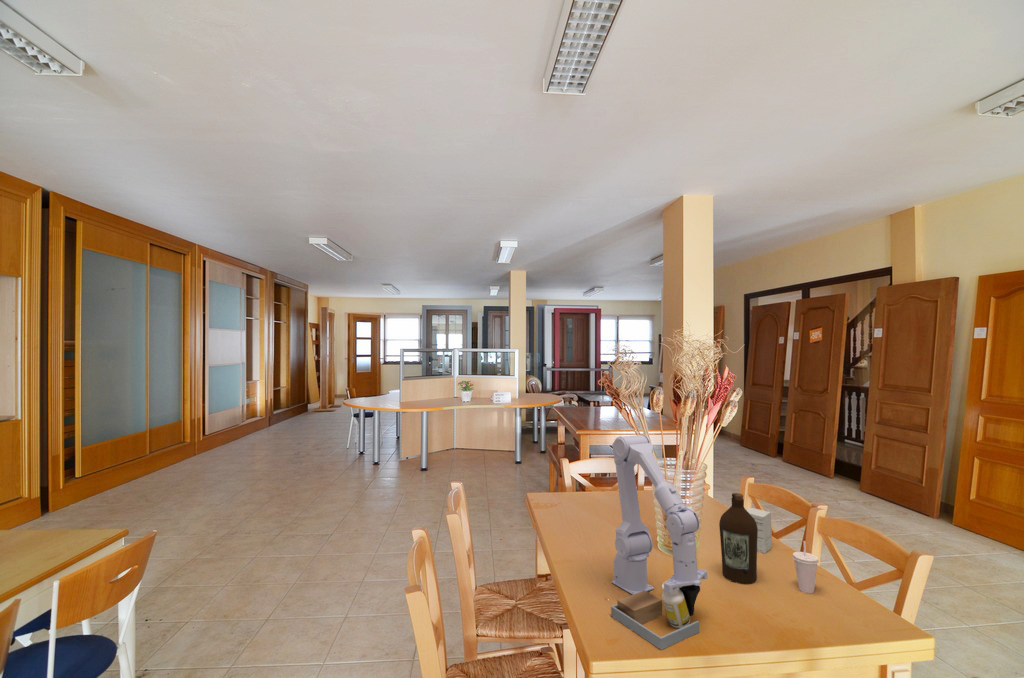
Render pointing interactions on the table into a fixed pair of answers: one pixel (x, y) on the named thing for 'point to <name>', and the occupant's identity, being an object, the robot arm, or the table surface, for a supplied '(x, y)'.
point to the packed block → (641, 606)
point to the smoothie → (805, 570)
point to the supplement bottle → (676, 608)
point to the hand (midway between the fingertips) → (688, 614)
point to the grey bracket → (651, 636)
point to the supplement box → (762, 529)
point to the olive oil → (738, 543)
